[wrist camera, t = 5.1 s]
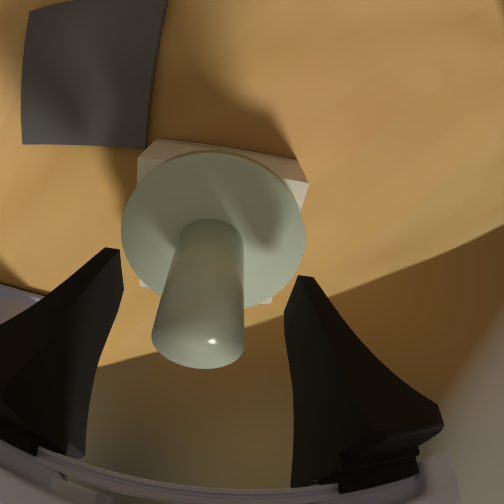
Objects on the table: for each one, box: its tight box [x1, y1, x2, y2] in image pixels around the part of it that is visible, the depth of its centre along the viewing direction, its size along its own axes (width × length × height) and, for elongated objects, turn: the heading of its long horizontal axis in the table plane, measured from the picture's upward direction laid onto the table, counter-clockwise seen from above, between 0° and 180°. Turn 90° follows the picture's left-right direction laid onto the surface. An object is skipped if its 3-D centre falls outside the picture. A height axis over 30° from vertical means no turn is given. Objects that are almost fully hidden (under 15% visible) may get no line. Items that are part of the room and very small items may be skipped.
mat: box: [21, 0, 168, 149], centre depth 10 cm, size 8×8×1 cm
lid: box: [121, 150, 306, 369], centre depth 11 cm, size 8×8×6 cm
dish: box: [137, 138, 309, 304], centre depth 14 cm, size 7×7×3 cm
